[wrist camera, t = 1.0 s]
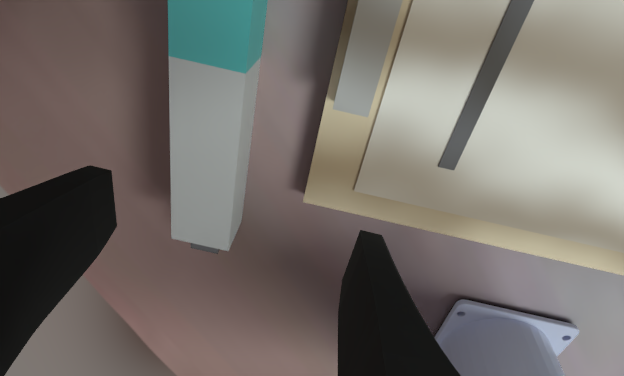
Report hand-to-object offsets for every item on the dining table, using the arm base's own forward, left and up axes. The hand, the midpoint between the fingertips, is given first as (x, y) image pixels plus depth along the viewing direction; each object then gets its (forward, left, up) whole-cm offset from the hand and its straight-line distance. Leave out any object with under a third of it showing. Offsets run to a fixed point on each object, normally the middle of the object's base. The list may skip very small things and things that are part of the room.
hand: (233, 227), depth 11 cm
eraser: (-3, +3, -10) cm, 11 cm away
